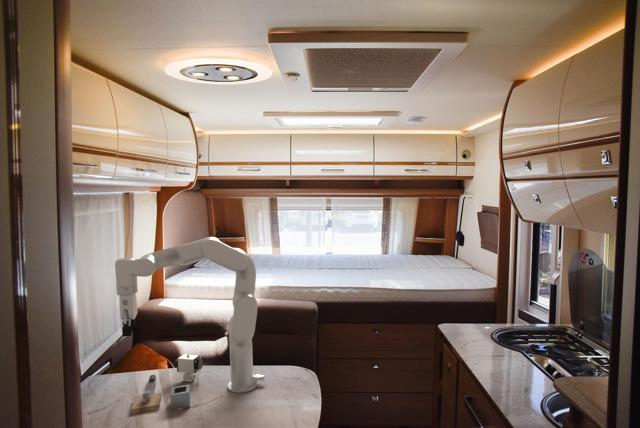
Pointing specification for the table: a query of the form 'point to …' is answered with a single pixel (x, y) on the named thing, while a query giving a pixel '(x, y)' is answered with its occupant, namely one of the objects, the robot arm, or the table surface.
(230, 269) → the robot arm
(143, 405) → the mallet
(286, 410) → the table surface
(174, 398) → the hollow grey cube
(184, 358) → the pneumatic valve
